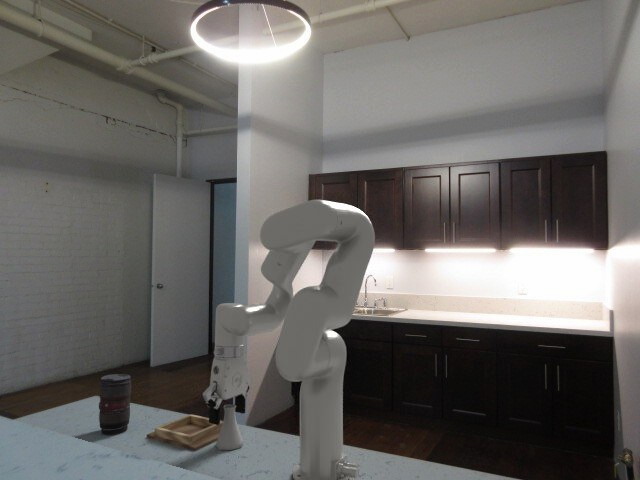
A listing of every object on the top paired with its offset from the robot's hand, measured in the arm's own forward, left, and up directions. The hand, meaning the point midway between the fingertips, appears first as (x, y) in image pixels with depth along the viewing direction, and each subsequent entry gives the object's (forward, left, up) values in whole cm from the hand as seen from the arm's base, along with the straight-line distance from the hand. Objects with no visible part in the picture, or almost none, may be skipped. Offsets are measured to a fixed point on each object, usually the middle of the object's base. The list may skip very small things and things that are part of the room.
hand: (227, 417), depth 118 cm
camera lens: (+34, +8, -7) cm, 36 cm away
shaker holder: (+13, 0, -7) cm, 15 cm away
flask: (-1, 0, -7) cm, 7 cm away
